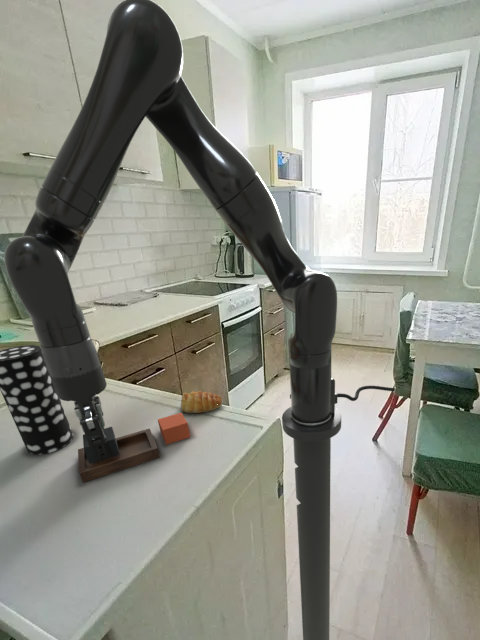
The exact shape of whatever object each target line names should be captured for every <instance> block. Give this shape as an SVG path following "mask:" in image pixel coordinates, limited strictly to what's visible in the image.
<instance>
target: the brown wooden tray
mask: <svg viewBox="0 0 480 640" xmlns="http://www.w3.org/2000/svg"><path fill="white" fill-rule="evenodd" d="M115 438H116V441H117V445H118V450H119V454H120V455H117V456H114V457H111V458H108V459H105V460H102V461H98V462H95V463H92V464H89V462H88V459H87V456H86V453H85V451H84V447H81V448H78V449H77V459H78V460H77V461H78V474H79V478H80V480H81V482H82V484H83V483H87V482H90V481H94V480H96V479H99V478H102V477H105V476H108V475H111V474H114V473H117V472H120V471H124V470H126V469H129V468H132V467H136V466H138V465H141V464H145V463H147V462H151V461H153V460H156V459H160V458H161V456H160V452H159V448H158V446H157V445H158V444H157V443H156V440H155V437H154V435H153V433H152V431H151V428H150V427H149V428H145V429H142V430H139V431H135V432H132V433H128V434H125V435H122V436H119V437H115Z"/></svg>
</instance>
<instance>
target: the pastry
mask: <svg viewBox="0 0 480 640" xmlns="http://www.w3.org/2000/svg"><path fill="white" fill-rule="evenodd" d="M180 401H181V402H180V410H181V412H184V413H186V414H192V413H193V414H199V413H200V414H201V413H207V412H212V411H214V410H216V409H219V408H220V407H221V406H222V405H223V397H222V396H220V395H218V394H215V393H212V392H208V391H205V392H203V391H201V390H198V391H194V390H192V391H191V392H183V393H182V395H181V400H180ZM217 404H218V405H217Z"/></svg>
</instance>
